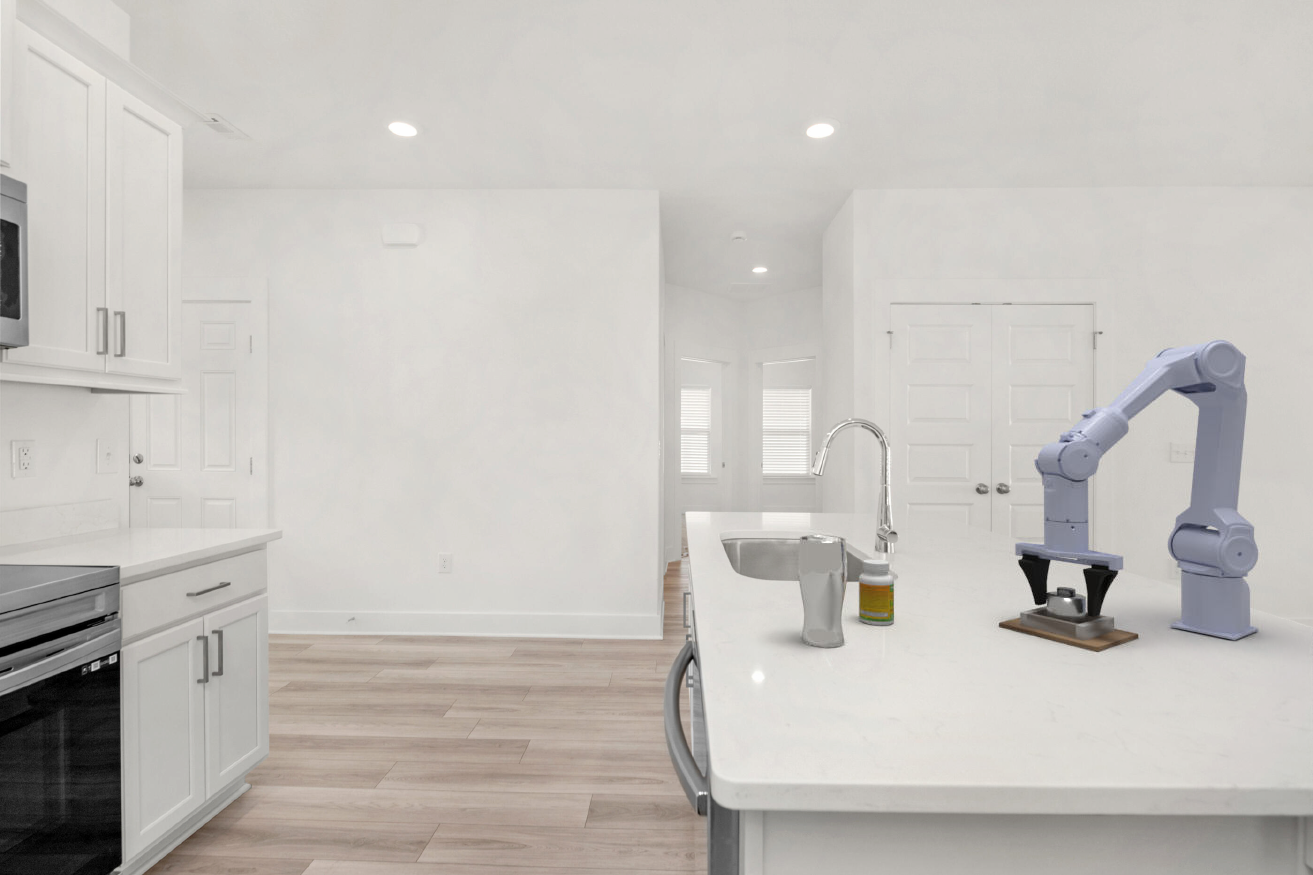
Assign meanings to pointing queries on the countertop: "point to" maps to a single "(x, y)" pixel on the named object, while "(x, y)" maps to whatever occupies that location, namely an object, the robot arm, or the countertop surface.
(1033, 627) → the carrier board
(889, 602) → the supplement bottle
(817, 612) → the beer glass
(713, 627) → the countertop surface
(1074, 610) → the chrome knobbed weight
